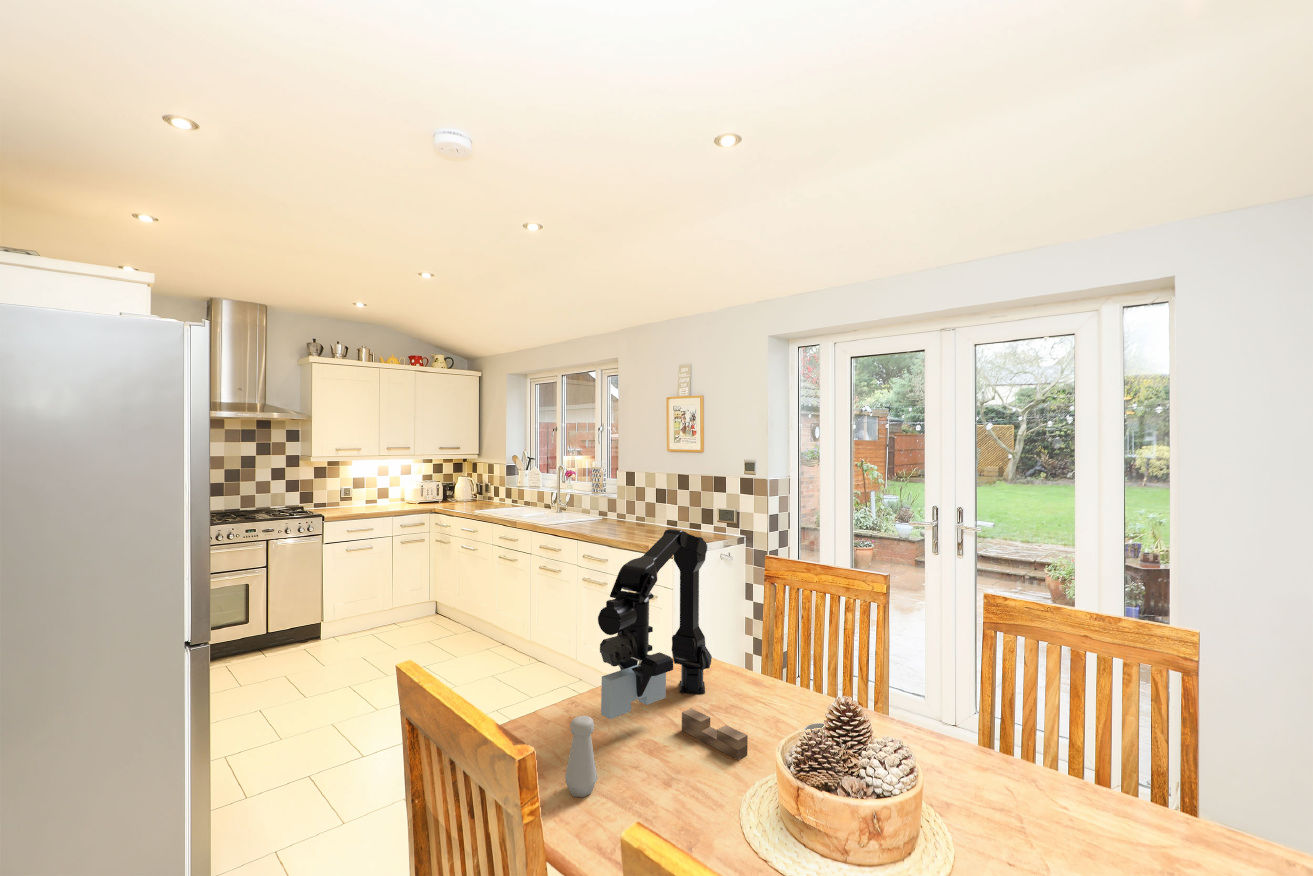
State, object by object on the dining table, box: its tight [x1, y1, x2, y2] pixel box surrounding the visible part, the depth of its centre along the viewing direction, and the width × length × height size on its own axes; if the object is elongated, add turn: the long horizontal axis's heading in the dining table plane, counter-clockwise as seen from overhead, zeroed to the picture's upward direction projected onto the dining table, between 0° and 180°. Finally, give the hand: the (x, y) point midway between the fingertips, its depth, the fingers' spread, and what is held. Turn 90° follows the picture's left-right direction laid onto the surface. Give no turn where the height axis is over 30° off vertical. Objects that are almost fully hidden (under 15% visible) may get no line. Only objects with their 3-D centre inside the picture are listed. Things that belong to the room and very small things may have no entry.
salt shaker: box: [564, 715, 598, 798], centre depth 106 cm, size 6×6×13 cm
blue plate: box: [600, 665, 667, 720], centre depth 127 cm, size 16×3×8 cm, turn 133°
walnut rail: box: [681, 707, 749, 761], centre depth 123 cm, size 16×3×4 cm, turn 43°
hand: (634, 694), depth 127 cm, fingers closed on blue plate, 3 cm apart
